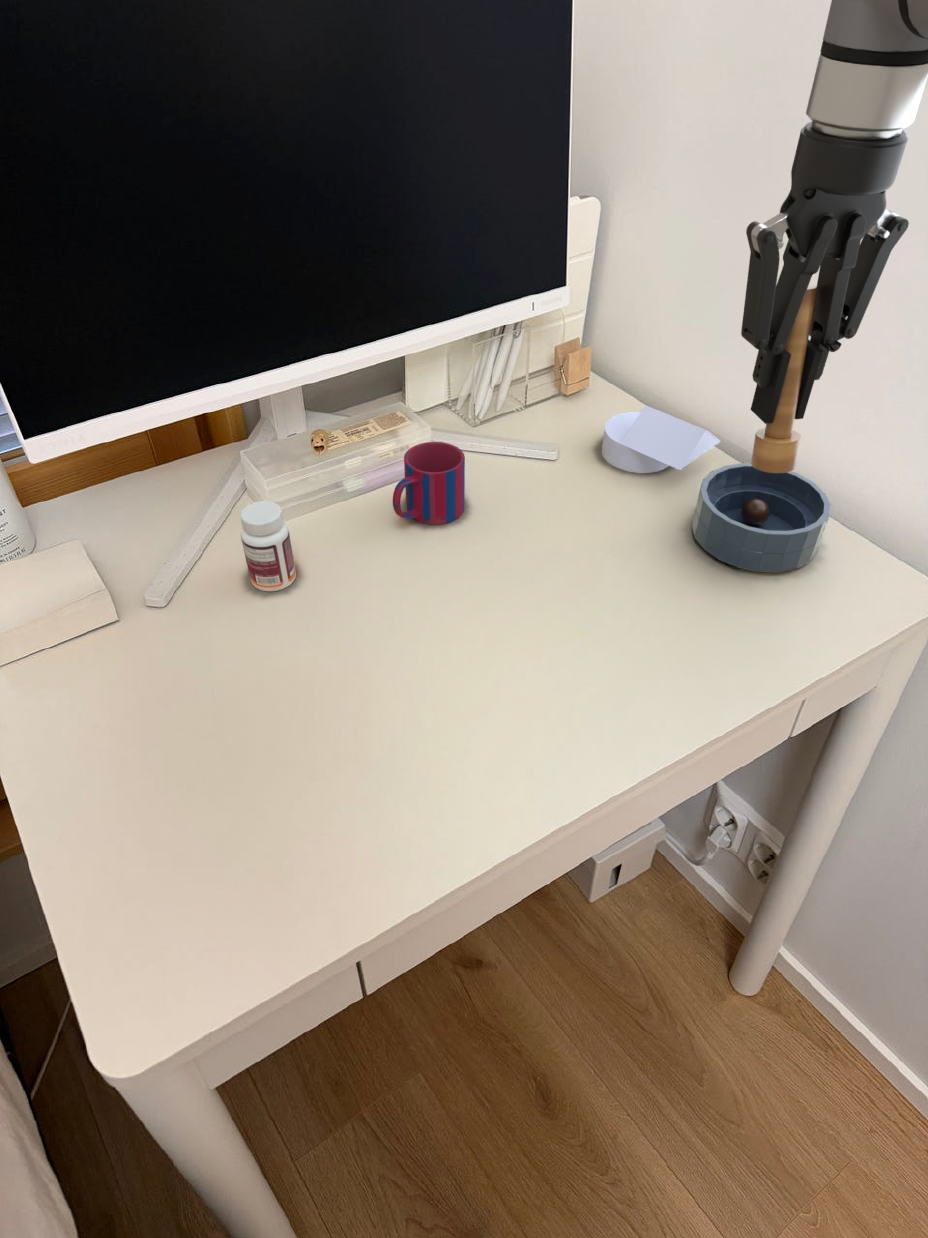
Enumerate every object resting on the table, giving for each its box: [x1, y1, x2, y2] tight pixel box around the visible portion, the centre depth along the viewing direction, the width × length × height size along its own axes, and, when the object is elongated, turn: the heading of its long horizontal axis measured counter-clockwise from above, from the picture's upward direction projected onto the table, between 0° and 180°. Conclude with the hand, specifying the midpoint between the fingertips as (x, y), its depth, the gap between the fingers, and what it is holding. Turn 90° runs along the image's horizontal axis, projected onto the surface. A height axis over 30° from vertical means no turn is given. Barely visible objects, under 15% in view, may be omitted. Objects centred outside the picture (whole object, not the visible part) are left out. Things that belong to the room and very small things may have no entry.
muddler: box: [750, 283, 817, 473], centre depth 76 cm, size 4×4×16 cm
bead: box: [741, 498, 770, 526], centre depth 95 cm, size 3×3×3 cm
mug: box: [392, 441, 466, 526], centre depth 96 cm, size 7×10×7 cm
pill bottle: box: [239, 500, 297, 592], centre depth 87 cm, size 5×5×8 cm
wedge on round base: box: [601, 404, 722, 474], centre depth 105 cm, size 9×7×13 cm
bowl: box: [691, 462, 832, 573], centre depth 93 cm, size 13×13×6 cm
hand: (776, 413), depth 79 cm, fingers closed on muddler, 2 cm apart
